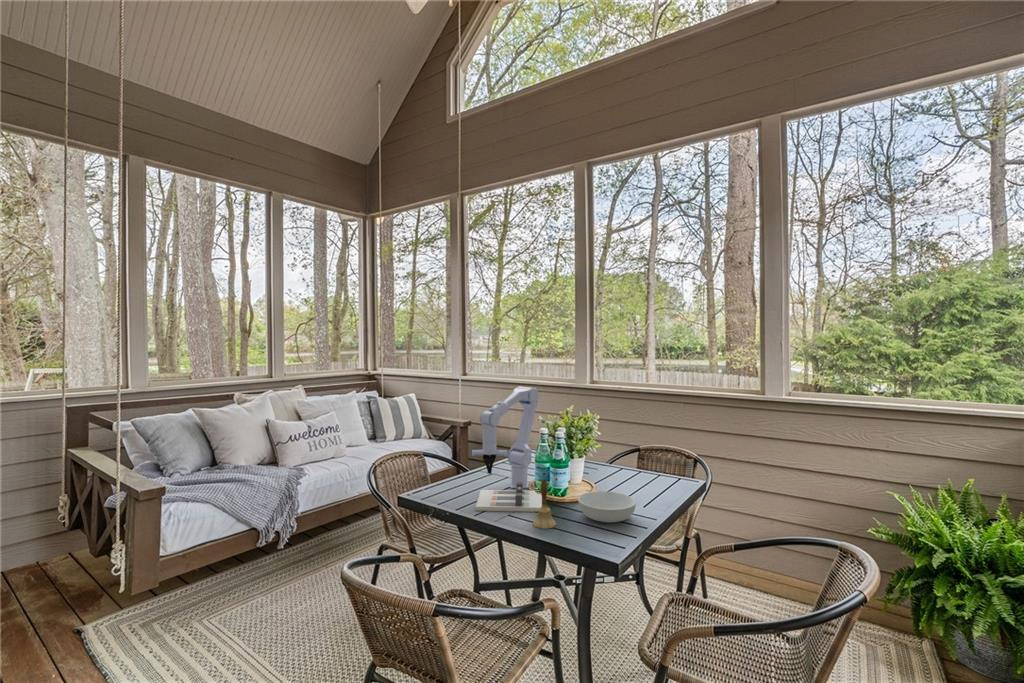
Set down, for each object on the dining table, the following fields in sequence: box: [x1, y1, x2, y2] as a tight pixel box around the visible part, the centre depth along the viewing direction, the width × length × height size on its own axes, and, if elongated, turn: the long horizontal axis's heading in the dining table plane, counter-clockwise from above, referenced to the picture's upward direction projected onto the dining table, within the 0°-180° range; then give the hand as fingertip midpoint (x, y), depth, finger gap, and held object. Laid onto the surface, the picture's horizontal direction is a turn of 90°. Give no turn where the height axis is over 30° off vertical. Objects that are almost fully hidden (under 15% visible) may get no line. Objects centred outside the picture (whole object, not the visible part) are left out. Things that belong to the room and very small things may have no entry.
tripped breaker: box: [515, 487, 522, 493], centre depth 191 cm, size 3×2×4 cm
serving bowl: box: [577, 490, 637, 524], centre depth 175 cm, size 21×21×7 cm
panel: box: [474, 482, 542, 513], centre depth 191 cm, size 20×26×6 cm
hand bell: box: [532, 478, 557, 530], centre depth 169 cm, size 8×8×16 cm
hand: (489, 472), depth 198 cm, fingers closed
